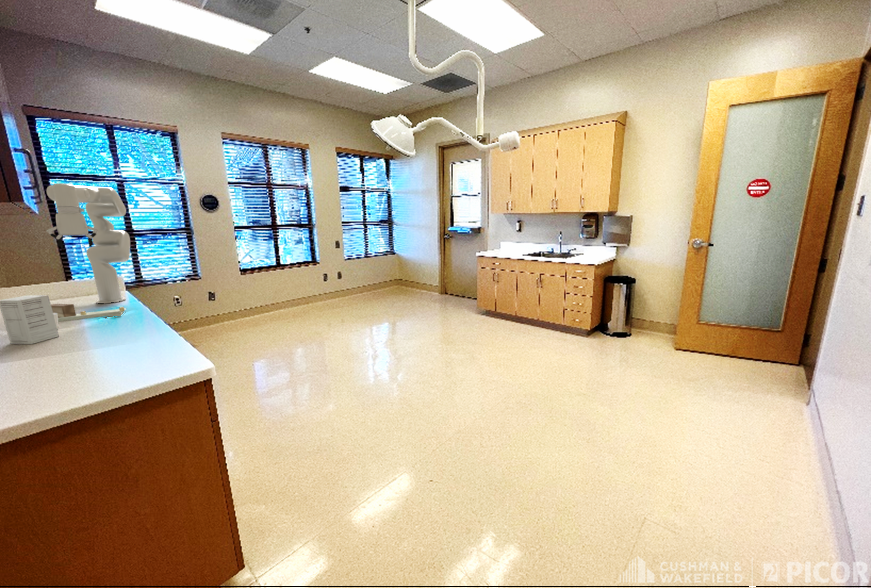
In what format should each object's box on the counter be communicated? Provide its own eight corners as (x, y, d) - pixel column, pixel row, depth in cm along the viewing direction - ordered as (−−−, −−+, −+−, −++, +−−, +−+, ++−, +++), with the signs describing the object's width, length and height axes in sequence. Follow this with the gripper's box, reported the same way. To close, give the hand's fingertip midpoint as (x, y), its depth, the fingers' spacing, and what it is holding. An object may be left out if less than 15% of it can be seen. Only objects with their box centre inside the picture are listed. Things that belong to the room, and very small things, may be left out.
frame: (58, 316, 164) (55, 303, 163) (76, 316, 162) (73, 304, 161) (47, 318, 160) (44, 305, 158) (66, 319, 158) (63, 306, 157)
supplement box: (60, 336, 137) (50, 294, 134) (31, 344, 128) (19, 300, 125) (38, 336, 138) (28, 294, 135) (9, 344, 129) (-4, 299, 126)
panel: (51, 319, 163) (50, 312, 163) (127, 310, 178) (126, 304, 177) (40, 326, 152) (38, 319, 151) (122, 316, 166) (120, 310, 165)
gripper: (93, 211, 173) (100, 246, 176) (41, 211, 161) (50, 248, 164) (95, 210, 169) (102, 246, 171) (41, 209, 156) (50, 248, 159)
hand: (76, 247), depth 168 cm, fingers open, 9 cm apart
